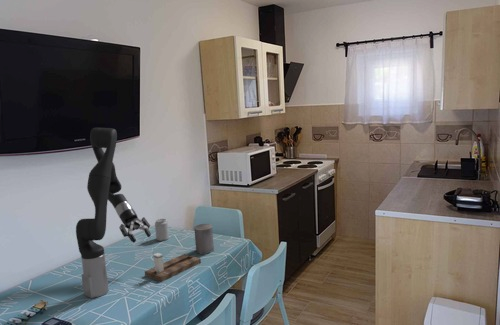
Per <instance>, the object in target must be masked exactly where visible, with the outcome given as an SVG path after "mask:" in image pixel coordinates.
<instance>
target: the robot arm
mask: <svg viewBox="0 0 500 325" xmlns="http://www.w3.org/2000/svg"><path fill="white" fill-rule="evenodd" d="M117 132H118V131H117V130H116V129H115V128H110V127H93V128H91V130H90V134H89V140H90V145H91V148H92V150H93V154H94V155H95V158H96V161H97V163H96V164H95V165H94V166H93V167H92V169H91V170H90V171H89V174H88V177H87V178H88V179H87V185H86V186H87V187H86V188H87V192H88V195H89V197H90V198H91V200H92V202H93V205H94V218H80V219H79V220H78V221H77V223H76V226H75V235H76V240H77V246H78V247H77V248H78V252H79V254H80V258H81V265H82V272H83V273H82V274H81V281H82V288H83V296H85V297H88V298H89V299H93V298H99V297H101V296H104V295H106V294H107V293H108V292H109V290H110V289H109V283H108V282H109V281H108V274H107V265H106V264H107V262H106V256H105V248H104V246H103V245H100V244H98V243H96V242H95V241H102V240H103V239H104V238H105V234H106V229H107V209H108V202H110V204H111V205H112V206H113V208H114V210H115V212H116V214H117V216H118V218H119V219H120V221H121V224H120V225H119V230H120V232H121V234H122V235H123V238H125V237H128V238H129V240H130V241H131V242H132V243H136V241H137V240H136V237H135V235H134V234H133V232H134V231H135V230H142V231H143V232H144V233H145V236H147V238H150V237H151V234H152V232H151V231H150V230H149V228H151V224H150V223H149V221H148V220H147V219H146V218H145V217H142V218H138V215H137V213H136V211H135V209H133V206H132V205H131V203H129V201H128V200H127V197H126V196H125V195H124V194H123V193H119V192H120V191H121V190H122V184H121V182H120V180H119V179H118V177H117V173H116V166H115V163H114V162H113V161H114V157H115V156H114V155H115V152H116V146H117V140H118V133H117ZM103 148H104V149H105V151H104V150H103ZM127 229H128V230H127Z"/></svg>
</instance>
